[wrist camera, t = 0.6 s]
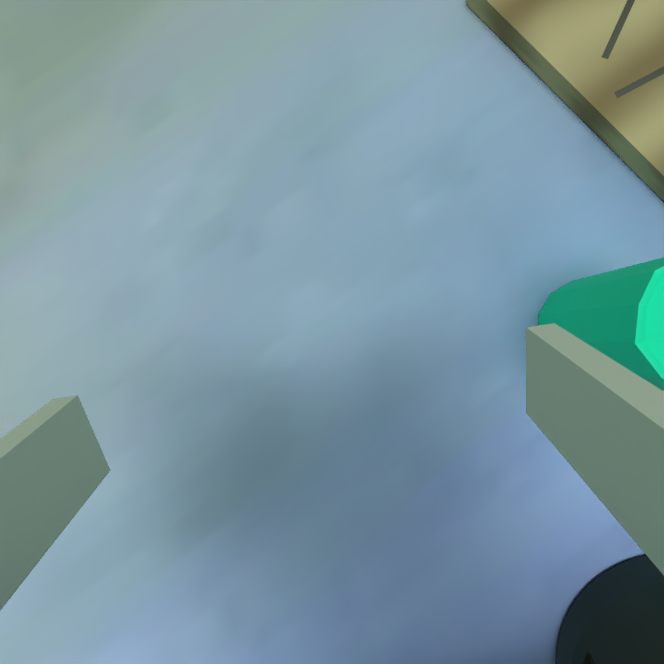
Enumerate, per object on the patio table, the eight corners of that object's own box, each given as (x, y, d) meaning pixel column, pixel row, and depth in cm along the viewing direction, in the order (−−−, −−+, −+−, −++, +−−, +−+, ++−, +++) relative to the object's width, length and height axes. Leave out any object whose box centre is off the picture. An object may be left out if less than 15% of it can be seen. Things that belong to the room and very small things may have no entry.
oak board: (862, 167, 24) (894, 156, 22) (733, 270, 24) (755, 266, 23) (575, -100, 26) (587, -127, 24) (466, 4, 26) (471, -16, 25)
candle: (622, 267, 25) (831, 213, 13) (649, 358, 25) (885, 385, 13) (525, 293, 26) (642, 264, 14) (551, 382, 26) (691, 427, 14)
